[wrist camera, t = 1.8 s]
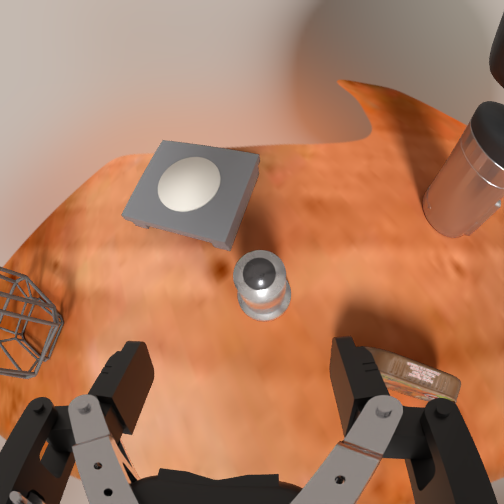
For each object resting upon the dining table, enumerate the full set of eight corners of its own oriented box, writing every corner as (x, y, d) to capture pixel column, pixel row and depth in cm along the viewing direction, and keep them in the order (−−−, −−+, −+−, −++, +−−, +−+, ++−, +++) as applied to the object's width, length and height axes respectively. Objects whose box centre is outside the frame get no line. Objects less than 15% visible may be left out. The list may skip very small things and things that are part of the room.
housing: (296, 278, 39) (301, 251, 30) (282, 327, 37) (282, 315, 28) (247, 265, 40) (237, 234, 31) (231, 312, 38) (216, 295, 29)
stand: (261, 171, 45) (259, 153, 41) (230, 255, 41) (224, 241, 37) (170, 156, 48) (162, 138, 44) (133, 228, 44) (120, 214, 40)
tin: (337, 368, 34) (352, 369, 26) (347, 345, 35) (365, 339, 27) (433, 404, 30) (467, 409, 23) (442, 382, 31) (476, 382, 23)
